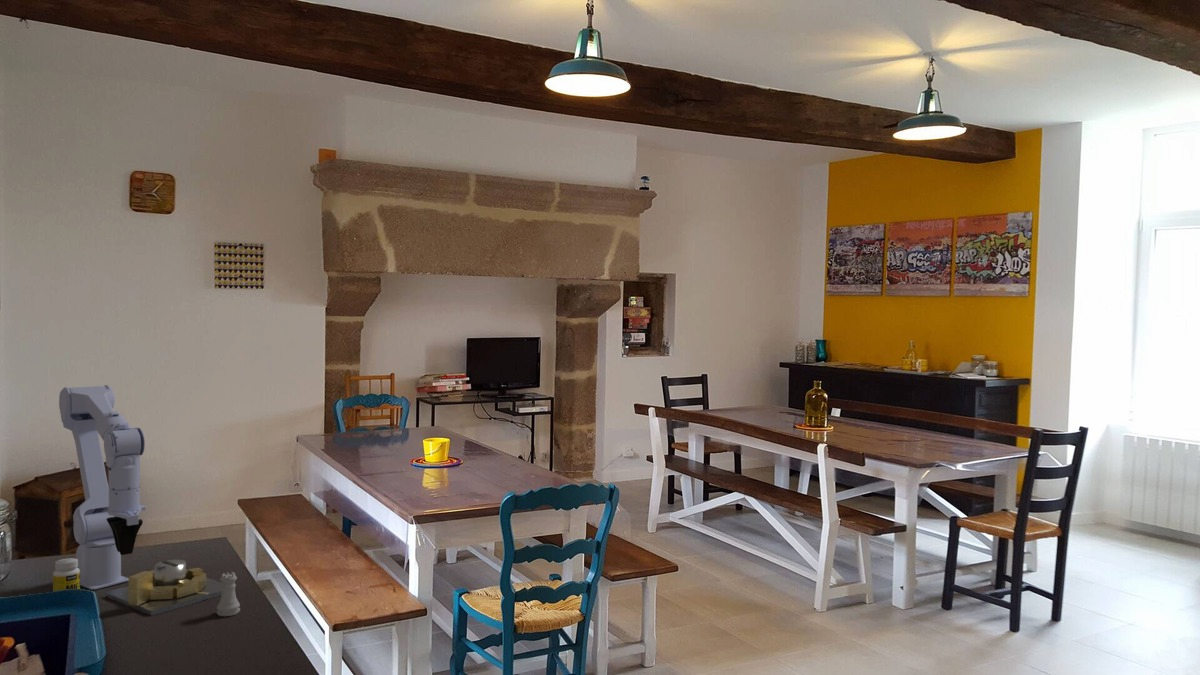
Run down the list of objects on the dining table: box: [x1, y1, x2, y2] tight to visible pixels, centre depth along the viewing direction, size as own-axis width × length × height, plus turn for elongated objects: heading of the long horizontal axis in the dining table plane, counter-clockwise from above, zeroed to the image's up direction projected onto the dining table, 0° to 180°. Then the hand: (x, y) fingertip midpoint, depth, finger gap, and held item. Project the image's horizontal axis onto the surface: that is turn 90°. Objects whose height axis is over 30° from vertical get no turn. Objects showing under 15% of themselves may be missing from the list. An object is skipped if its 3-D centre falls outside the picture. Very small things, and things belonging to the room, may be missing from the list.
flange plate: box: [104, 559, 222, 617], centre depth 185 cm, size 18×18×7 cm
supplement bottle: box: [52, 557, 81, 592], centre depth 180 cm, size 5×5×8 cm
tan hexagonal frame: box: [128, 567, 207, 606], centre depth 183 cm, size 13×17×6 cm
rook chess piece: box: [216, 571, 241, 618], centre depth 175 cm, size 4×4×8 cm
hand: (124, 552), depth 181 cm, fingers open, 2 cm apart
